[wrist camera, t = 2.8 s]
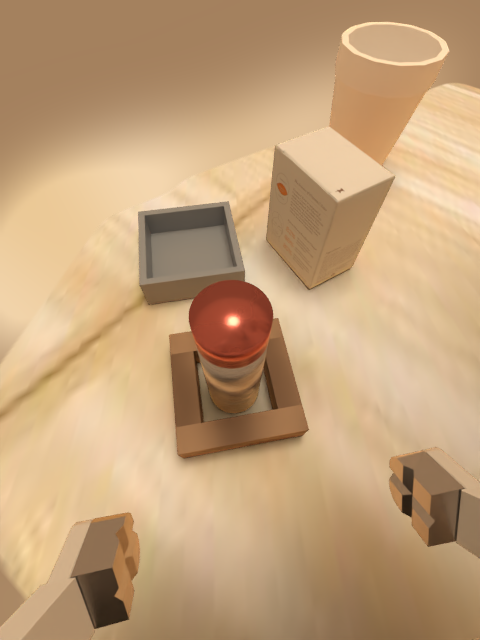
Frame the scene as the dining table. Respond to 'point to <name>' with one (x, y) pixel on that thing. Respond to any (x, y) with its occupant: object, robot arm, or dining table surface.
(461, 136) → the dining table surface
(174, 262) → the tray
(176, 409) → the wooden square frame
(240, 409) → the red-lidded jar
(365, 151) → the foam cup
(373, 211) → the small box
